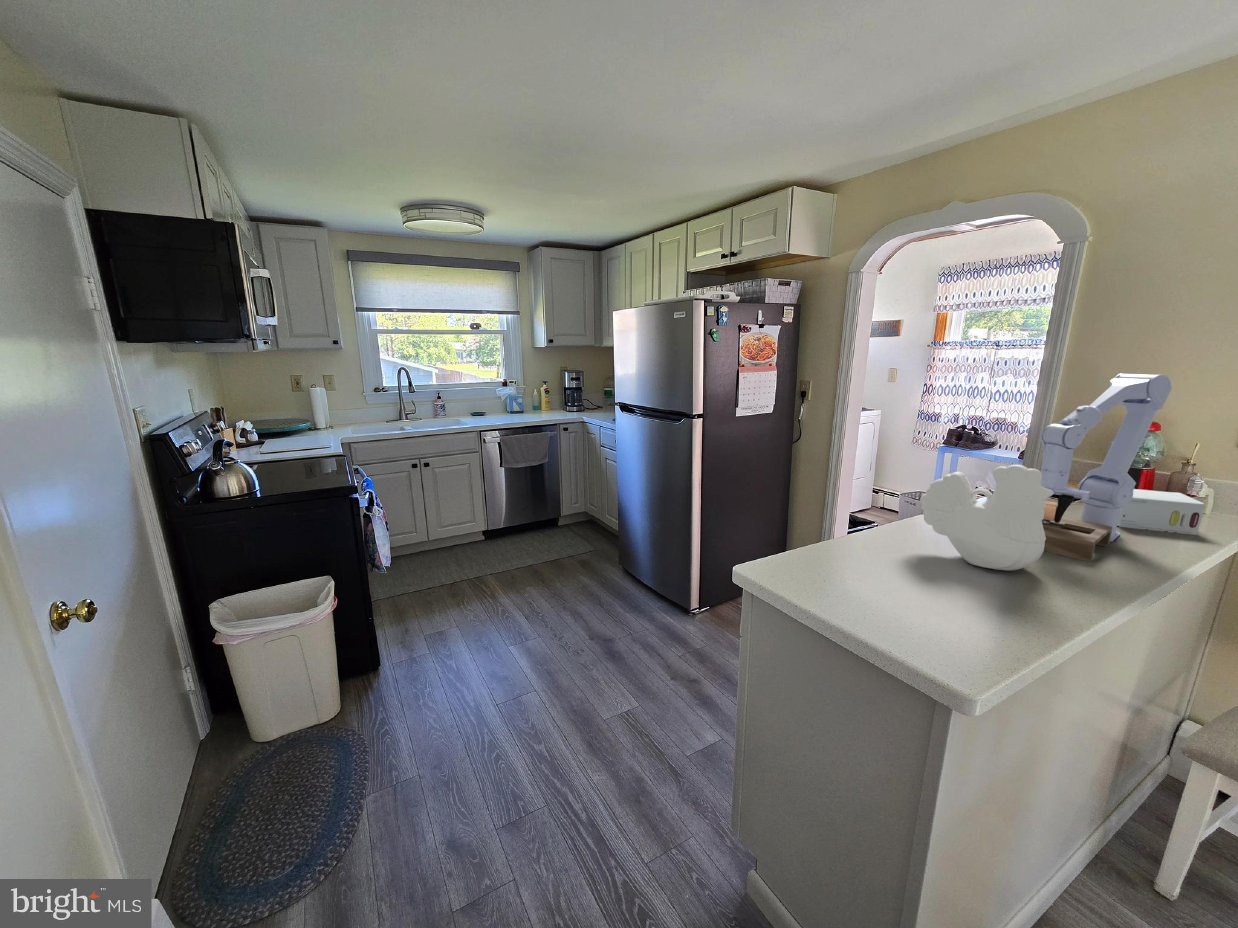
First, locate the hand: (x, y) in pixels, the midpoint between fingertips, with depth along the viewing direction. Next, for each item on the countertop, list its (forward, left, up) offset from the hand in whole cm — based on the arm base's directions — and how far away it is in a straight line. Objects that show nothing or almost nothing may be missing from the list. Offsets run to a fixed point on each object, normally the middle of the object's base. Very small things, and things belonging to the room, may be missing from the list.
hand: (1046, 519), depth 133 cm
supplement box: (-40, +13, -6) cm, 42 cm away
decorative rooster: (+29, -6, -6) cm, 30 cm away
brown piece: (0, 0, -3) cm, 3 cm away
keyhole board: (0, +3, -6) cm, 7 cm away
